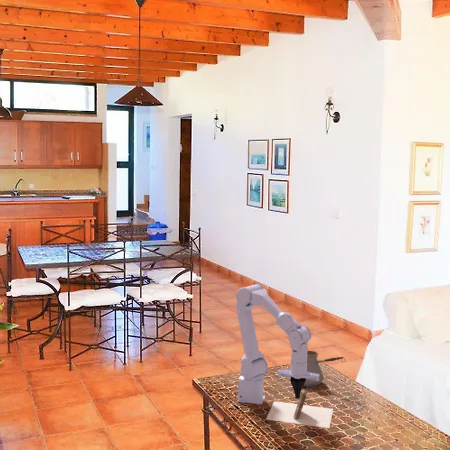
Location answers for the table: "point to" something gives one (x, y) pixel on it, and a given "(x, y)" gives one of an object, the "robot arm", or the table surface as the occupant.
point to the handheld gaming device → (356, 405)
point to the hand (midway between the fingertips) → (297, 397)
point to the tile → (300, 404)
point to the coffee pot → (316, 367)
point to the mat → (307, 416)
